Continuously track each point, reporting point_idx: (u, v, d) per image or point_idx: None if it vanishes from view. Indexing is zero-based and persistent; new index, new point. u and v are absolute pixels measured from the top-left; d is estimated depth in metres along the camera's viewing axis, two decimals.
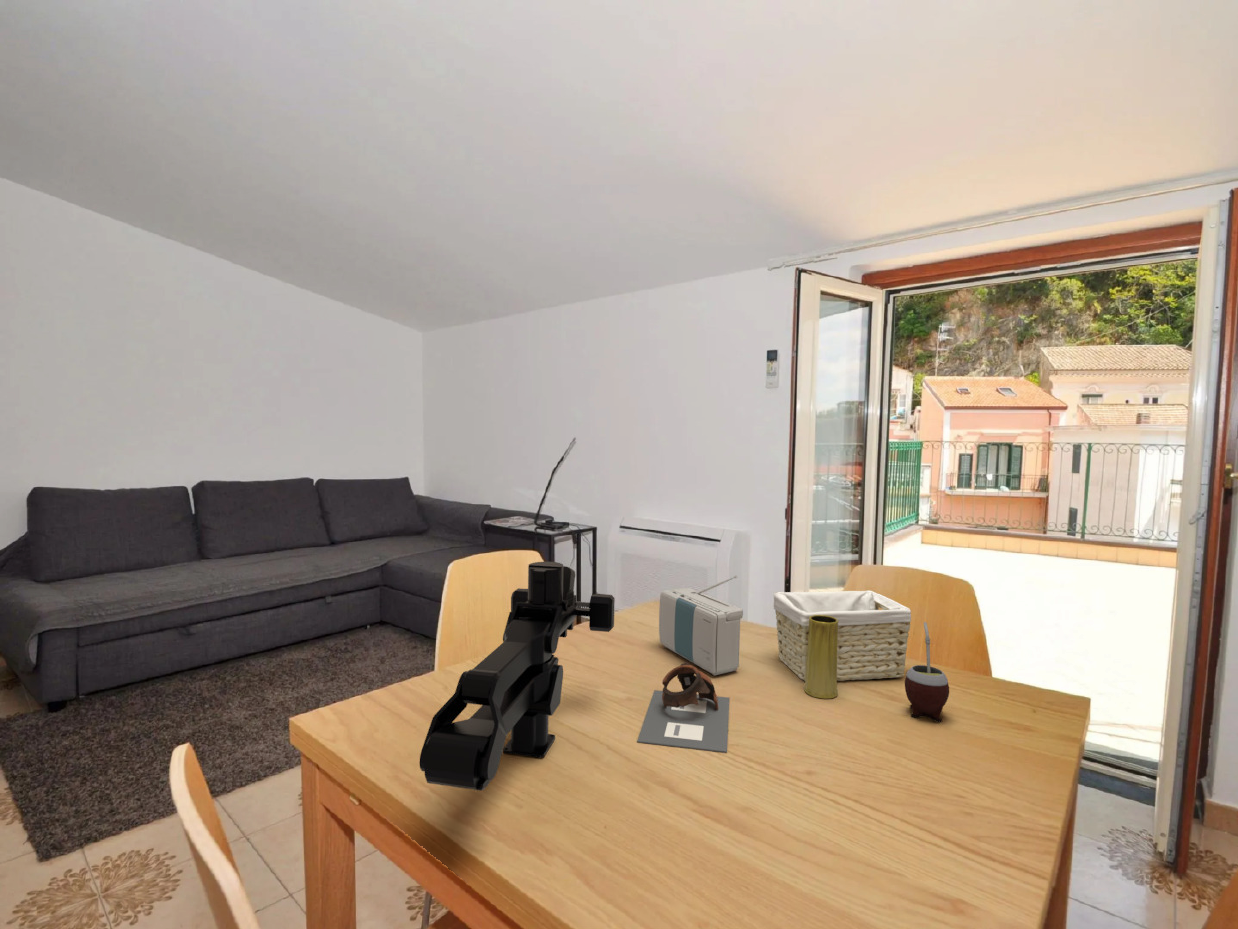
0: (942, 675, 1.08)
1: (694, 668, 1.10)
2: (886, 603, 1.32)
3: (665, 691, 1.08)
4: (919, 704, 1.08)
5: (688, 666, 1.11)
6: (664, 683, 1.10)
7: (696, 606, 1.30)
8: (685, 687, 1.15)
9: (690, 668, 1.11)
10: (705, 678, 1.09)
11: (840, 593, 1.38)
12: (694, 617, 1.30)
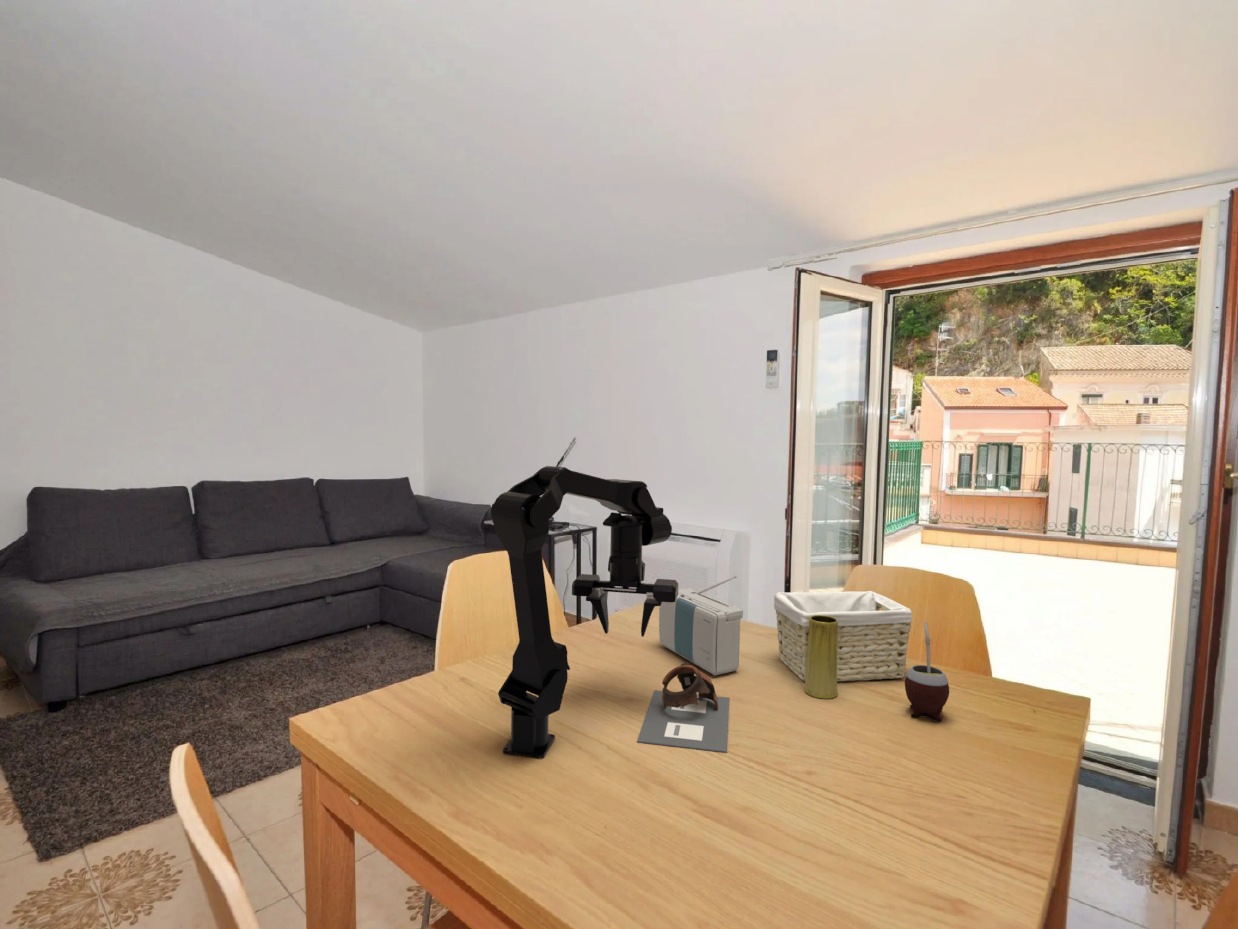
0: (942, 675, 1.08)
1: (694, 668, 1.10)
2: (887, 604, 1.32)
3: (665, 691, 1.08)
4: (919, 704, 1.08)
5: (688, 666, 1.11)
6: (664, 683, 1.10)
7: (696, 606, 1.30)
8: (685, 687, 1.15)
9: (690, 668, 1.11)
10: (705, 678, 1.09)
11: (841, 593, 1.38)
12: (694, 617, 1.30)
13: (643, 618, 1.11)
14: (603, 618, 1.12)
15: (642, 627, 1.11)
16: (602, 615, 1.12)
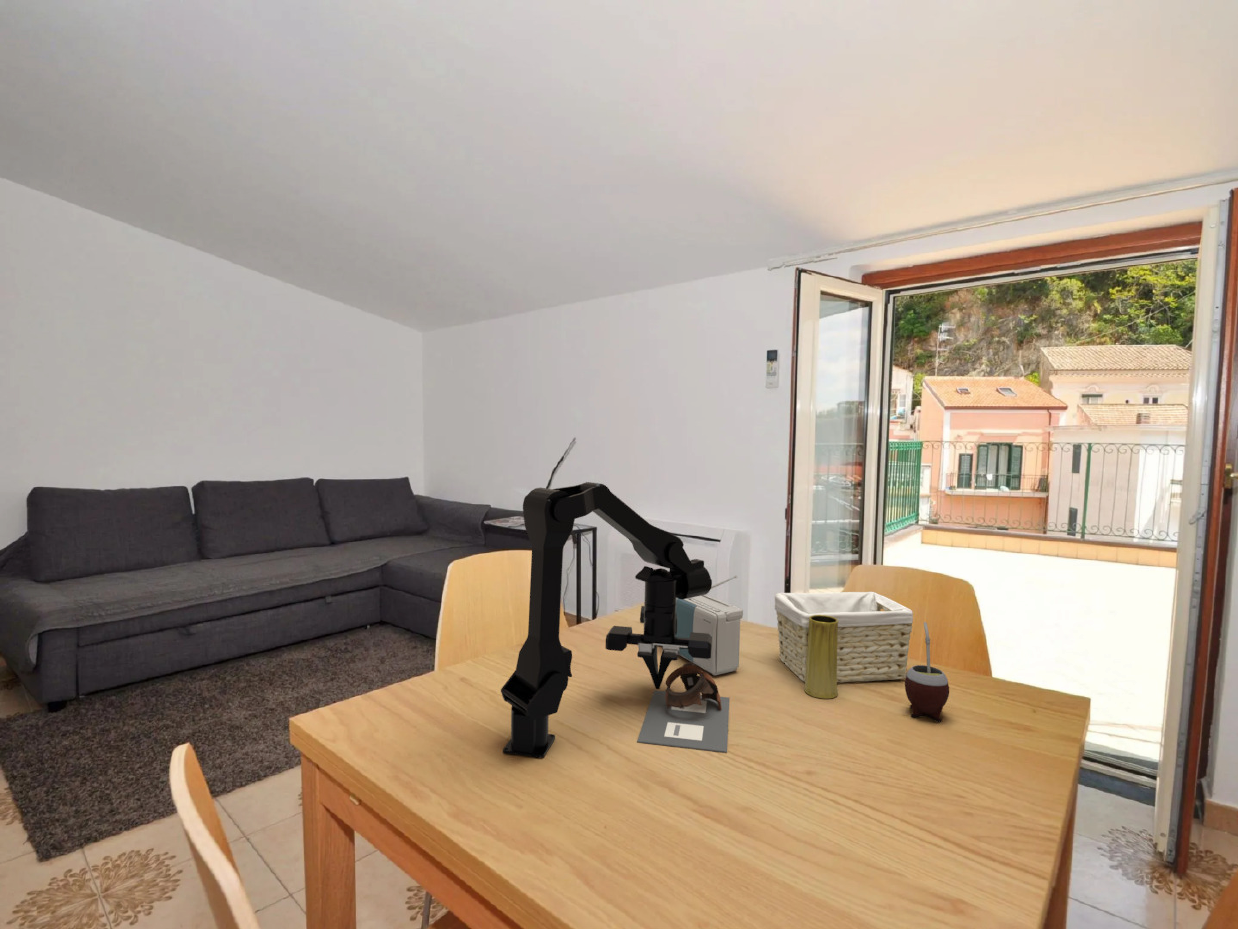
0: (942, 675, 1.08)
1: (697, 668, 1.10)
2: (888, 604, 1.31)
3: (668, 691, 1.08)
4: (919, 704, 1.08)
5: (691, 666, 1.11)
6: (667, 683, 1.10)
7: (696, 606, 1.30)
8: (688, 687, 1.14)
9: (693, 668, 1.10)
10: (708, 678, 1.09)
11: (842, 594, 1.37)
12: (694, 617, 1.30)
13: (659, 671, 1.11)
14: (654, 674, 1.11)
15: (658, 680, 1.11)
16: (654, 671, 1.11)
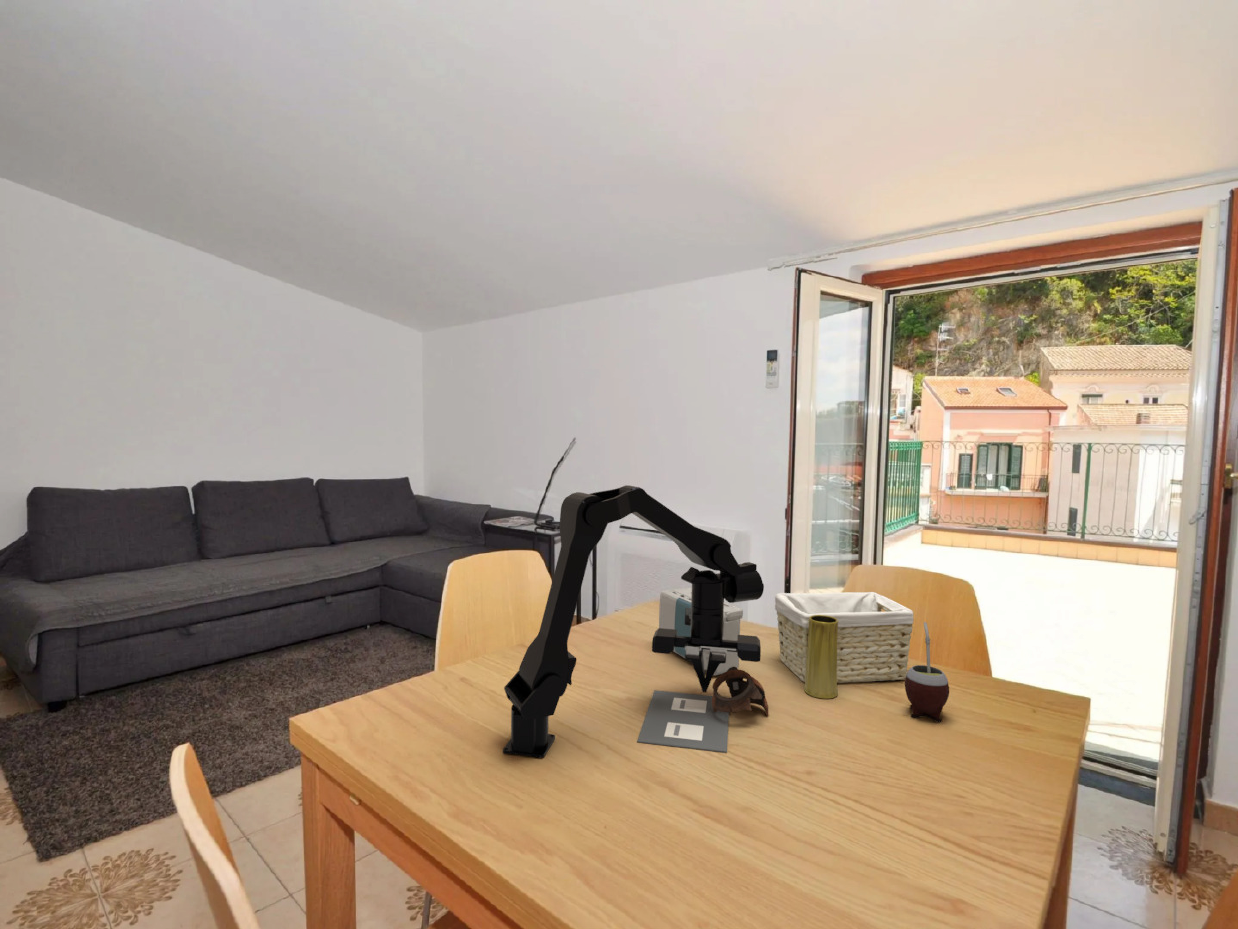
0: (942, 675, 1.08)
1: (745, 673, 1.08)
2: (888, 605, 1.31)
3: (717, 696, 1.06)
4: (919, 704, 1.08)
5: (739, 671, 1.10)
6: (714, 688, 1.09)
7: None
8: (733, 692, 1.13)
9: (741, 673, 1.09)
10: (757, 683, 1.08)
11: (842, 594, 1.37)
12: None
13: (707, 675, 1.09)
14: (702, 677, 1.10)
15: (705, 683, 1.10)
16: (701, 674, 1.09)
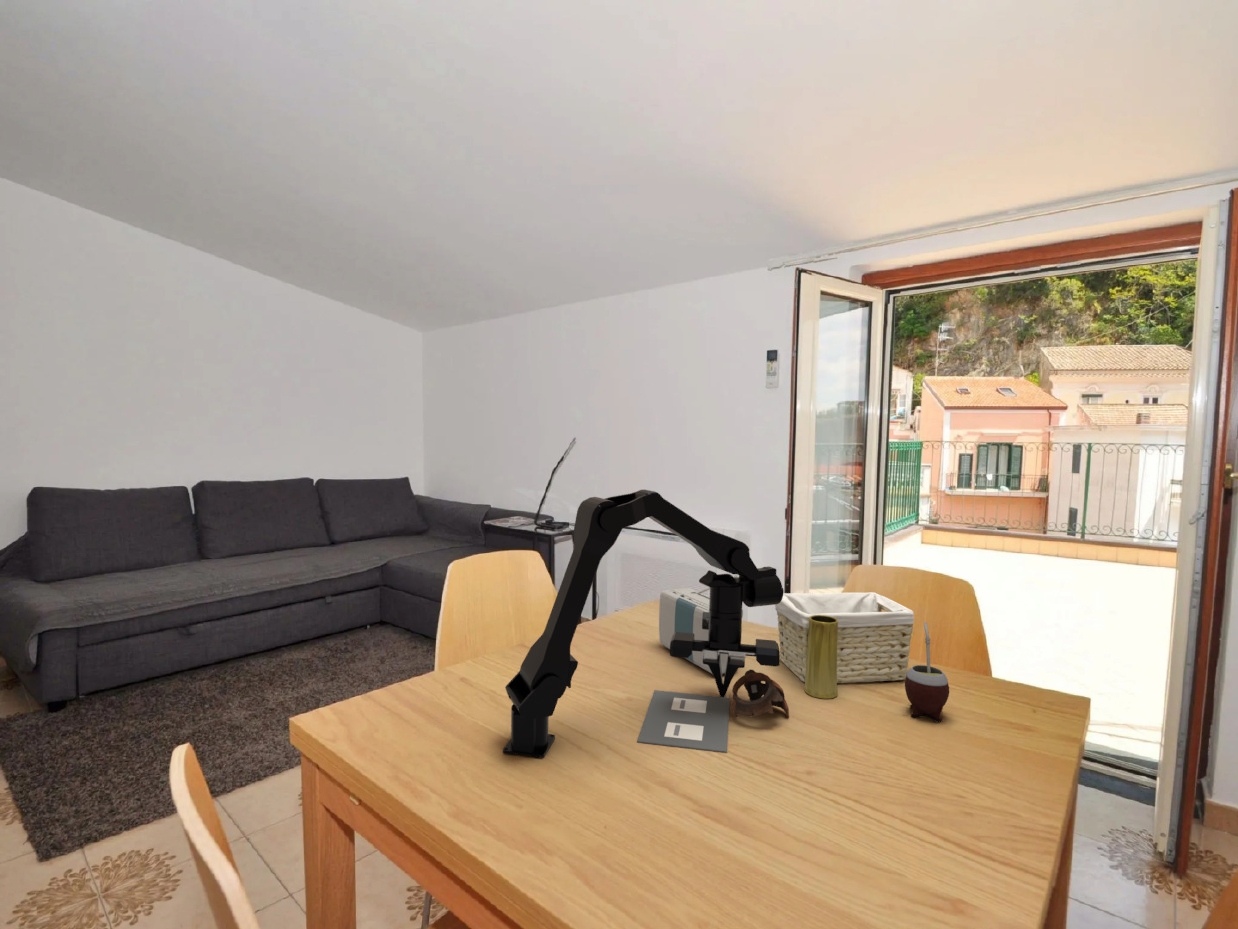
0: (942, 675, 1.08)
1: (765, 676, 1.08)
2: (889, 605, 1.31)
3: (737, 700, 1.06)
4: (919, 704, 1.08)
5: (758, 674, 1.09)
6: (734, 692, 1.08)
7: (696, 606, 1.30)
8: (752, 695, 1.12)
9: (760, 676, 1.08)
10: (776, 686, 1.07)
11: (843, 595, 1.37)
12: (694, 617, 1.30)
13: (725, 679, 1.08)
14: (720, 681, 1.09)
15: (724, 688, 1.09)
16: (719, 678, 1.09)
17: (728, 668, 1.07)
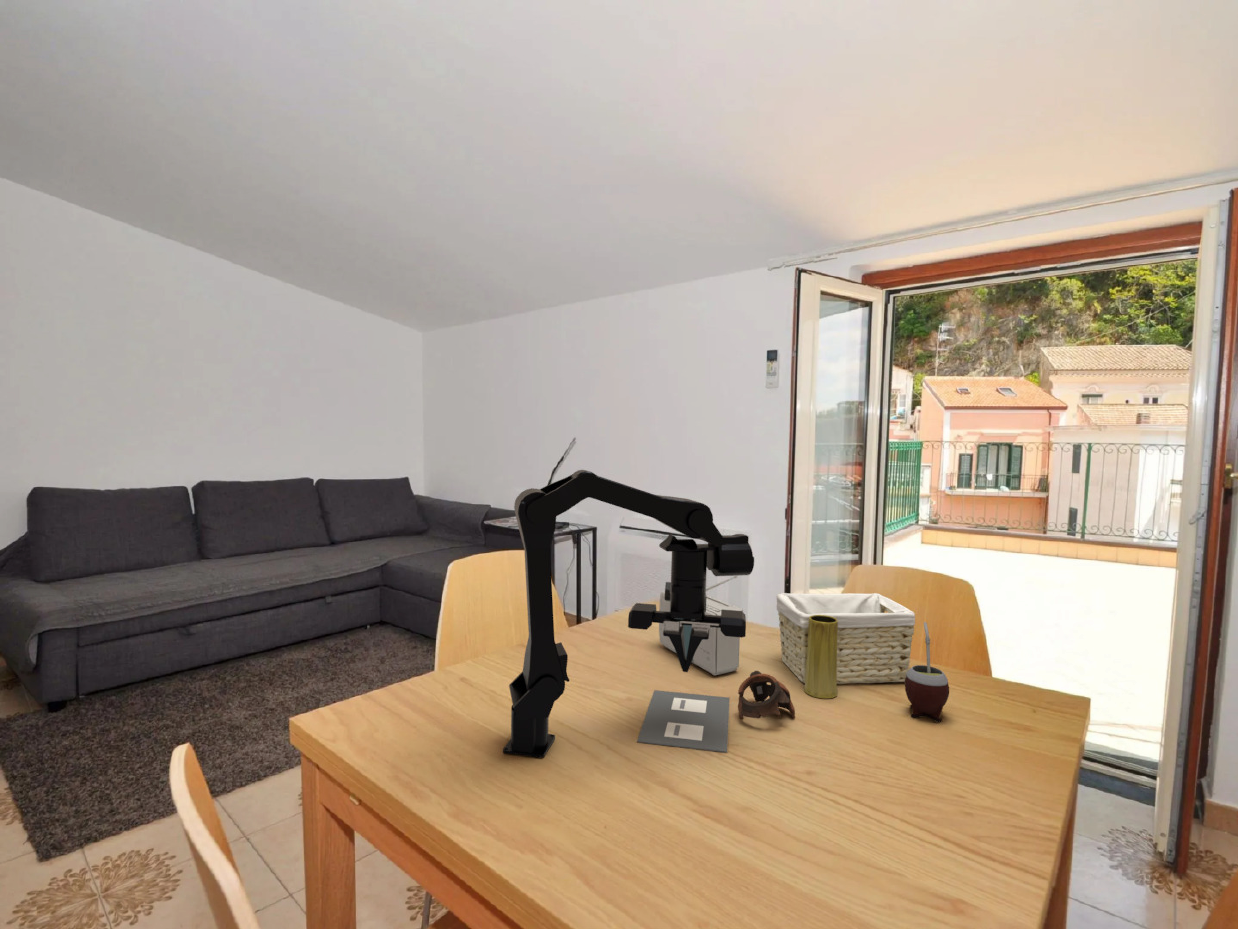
0: (942, 675, 1.08)
1: (771, 677, 1.08)
2: (891, 606, 1.30)
3: (744, 702, 1.05)
4: (919, 704, 1.08)
5: (763, 675, 1.09)
6: (740, 693, 1.08)
7: None
8: (757, 696, 1.12)
9: (766, 677, 1.08)
10: (783, 687, 1.07)
11: (845, 595, 1.36)
12: None
13: (688, 652, 1.00)
14: (682, 655, 1.01)
15: (687, 662, 1.01)
16: (681, 652, 1.00)
17: (691, 640, 0.99)
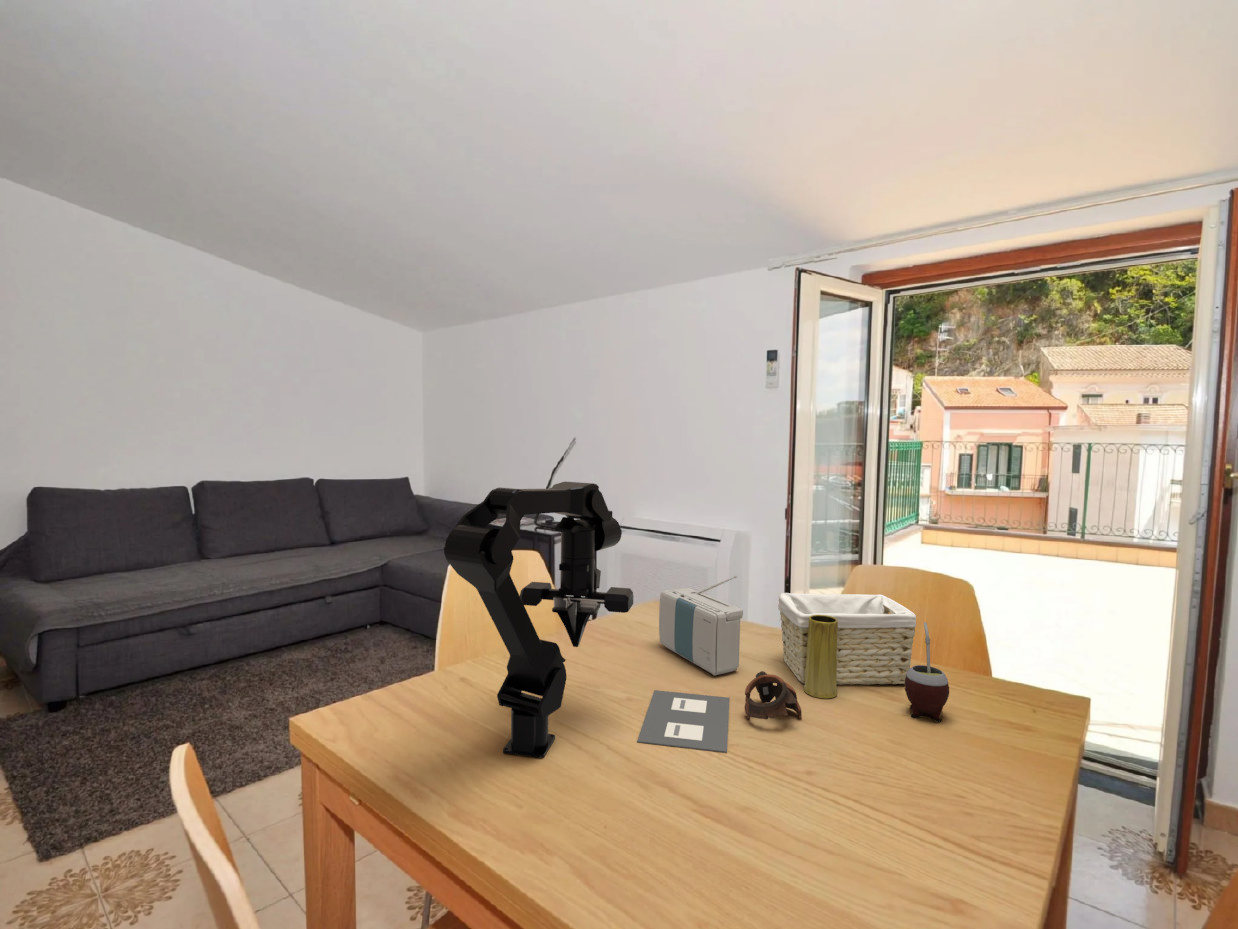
0: (942, 675, 1.08)
1: (777, 678, 1.07)
2: (894, 608, 1.29)
3: (751, 703, 1.05)
4: (919, 704, 1.08)
5: (770, 676, 1.08)
6: (747, 694, 1.07)
7: (696, 606, 1.30)
8: (763, 697, 1.12)
9: (773, 678, 1.08)
10: (789, 687, 1.07)
11: (849, 596, 1.36)
12: (694, 617, 1.30)
13: (576, 627, 1.05)
14: (571, 630, 1.05)
15: (576, 637, 1.06)
16: (570, 627, 1.05)
17: (577, 616, 1.04)
